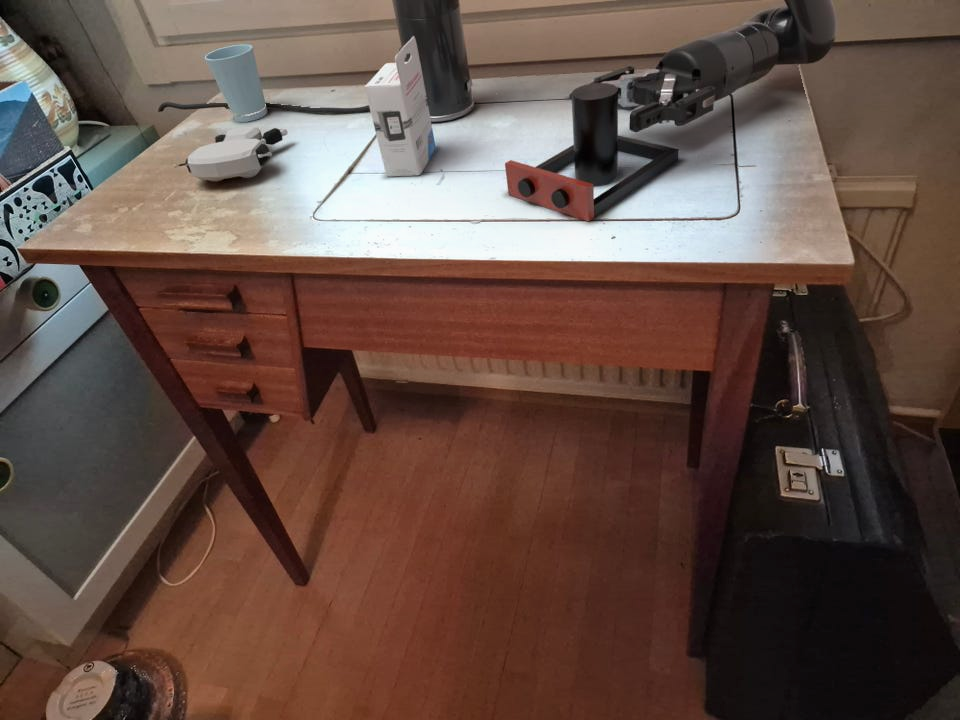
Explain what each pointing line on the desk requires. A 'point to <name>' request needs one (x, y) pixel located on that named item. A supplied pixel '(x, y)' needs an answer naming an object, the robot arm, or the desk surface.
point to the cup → (238, 80)
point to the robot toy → (233, 154)
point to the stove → (577, 194)
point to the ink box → (401, 114)
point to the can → (595, 133)
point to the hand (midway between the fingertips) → (604, 114)
